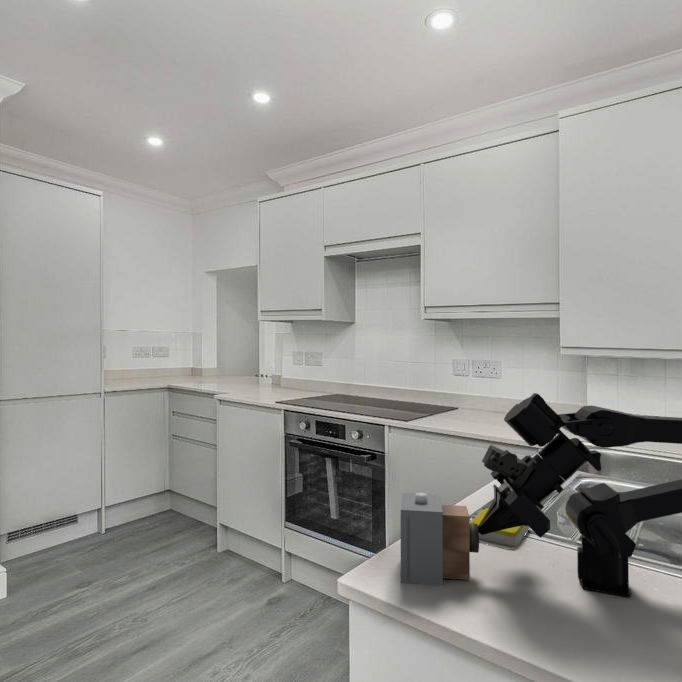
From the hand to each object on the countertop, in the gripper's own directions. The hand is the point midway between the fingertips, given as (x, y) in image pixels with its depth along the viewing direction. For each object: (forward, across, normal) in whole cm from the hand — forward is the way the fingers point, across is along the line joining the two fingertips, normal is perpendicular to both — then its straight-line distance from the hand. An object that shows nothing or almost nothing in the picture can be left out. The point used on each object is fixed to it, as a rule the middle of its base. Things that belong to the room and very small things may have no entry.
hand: (479, 531), depth 78 cm
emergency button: (+1, -19, +10) cm, 22 cm away
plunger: (+7, 0, +2) cm, 8 cm away
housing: (+12, 0, -2) cm, 12 cm away
